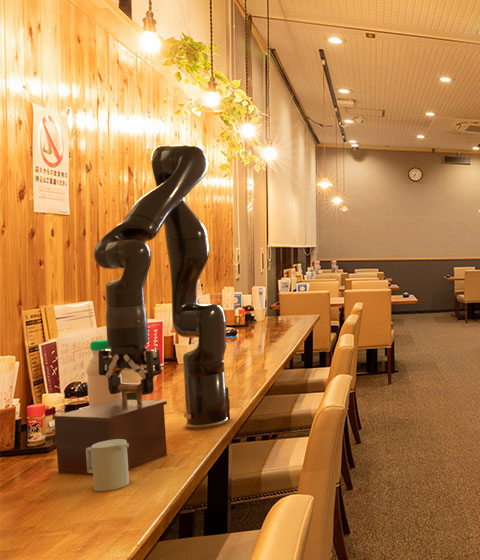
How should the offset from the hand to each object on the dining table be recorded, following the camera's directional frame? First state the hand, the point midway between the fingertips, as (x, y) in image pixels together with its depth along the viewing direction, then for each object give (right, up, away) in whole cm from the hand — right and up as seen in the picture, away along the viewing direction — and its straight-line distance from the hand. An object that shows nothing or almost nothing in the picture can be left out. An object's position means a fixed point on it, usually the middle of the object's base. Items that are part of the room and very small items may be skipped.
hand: (131, 393), depth 150 cm
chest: (-1, -15, -4) cm, 16 cm away
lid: (-1, -3, -5) cm, 6 cm away
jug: (+10, -16, -18) cm, 26 cm away
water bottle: (-19, -14, +17) cm, 29 cm away
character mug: (-31, -13, +39) cm, 51 cm away
